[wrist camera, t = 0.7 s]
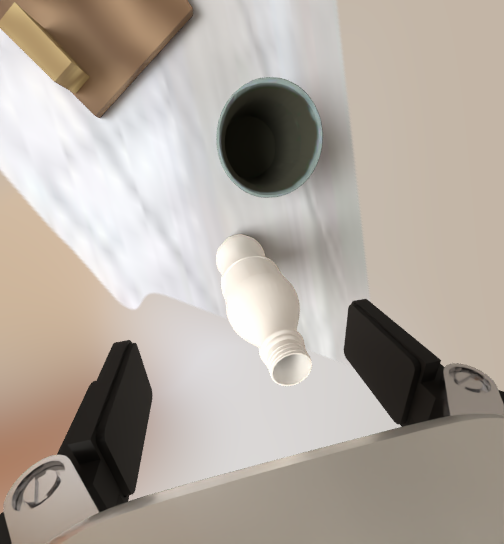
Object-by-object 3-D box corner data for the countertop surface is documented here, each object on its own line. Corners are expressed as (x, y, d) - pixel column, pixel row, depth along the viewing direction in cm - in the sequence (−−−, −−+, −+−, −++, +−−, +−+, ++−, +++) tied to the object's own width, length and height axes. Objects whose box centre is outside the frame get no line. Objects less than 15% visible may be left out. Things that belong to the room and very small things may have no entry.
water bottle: (235, 220, 38) (292, 306, 15) (268, 249, 41) (359, 356, 18) (205, 256, 39) (218, 385, 16) (240, 281, 42) (291, 419, 19)
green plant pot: (298, 148, 36) (342, 142, 25) (249, 203, 37) (271, 219, 26) (246, 84, 31) (272, 44, 21) (194, 149, 33) (193, 143, 22)
